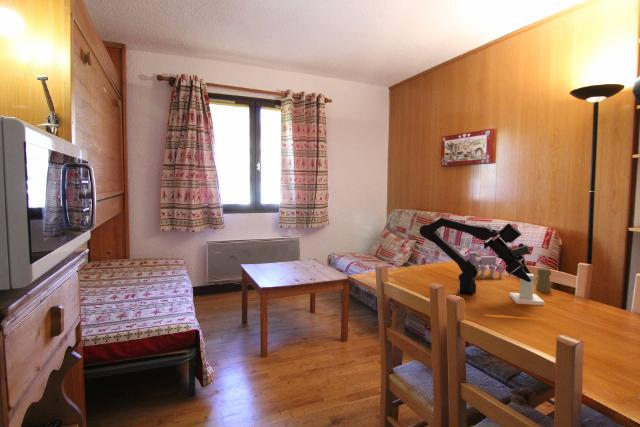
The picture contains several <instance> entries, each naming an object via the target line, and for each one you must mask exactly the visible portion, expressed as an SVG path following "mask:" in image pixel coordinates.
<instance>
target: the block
mask: <svg viewBox="0 0 640 427" xmlns="http://www.w3.org/2000/svg"><path fill="white" fill-rule="evenodd" d="M526 274H527V275H528V277H529V278H530V279H531V282H527V281H525V280H523V279H521V278H519V292H518V293H519V297H521V298H527V299H532V298H533V294H534V280H535V274H534V273H531V274H528V273H526Z"/></svg>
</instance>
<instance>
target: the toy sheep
mask: <svg viewBox="0 0 640 427" xmlns="http://www.w3.org/2000/svg"><path fill="white" fill-rule="evenodd" d="M462 256H463V257H465V258H467V259H469V258H470V257H471V258H472V259H473V260H474V261H475V262H476V263H478V264H477V265H478V266H479V268H480V275H481V276H480V277H481V279H485V271H486V270H487V267H486V266H488V269H489V270H490V271H489V274H490V279H494V278H495V274H494V273H495V272H494V271H495V270H496V269H497V270H498V278H499V279H502V278H503V270H504V266H503V264H498V263H497V256H494V255H482V254H481V253H478V252H475V251H468V253H467V254H465V255H462Z"/></svg>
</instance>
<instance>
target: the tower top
mask: <svg viewBox="0 0 640 427" xmlns="http://www.w3.org/2000/svg"><path fill="white" fill-rule="evenodd" d="M519 293H520V292H509V297H510V298H511V299H512V300H513V302H514V303H515V304H516V305H517V304H521V305H533V306H545V300H543V299H542V298H540V296H538V295H537V294H536V293H533V298H532V299H527V298H521V297H519Z"/></svg>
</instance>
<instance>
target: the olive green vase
mask: <svg viewBox="0 0 640 427" xmlns="http://www.w3.org/2000/svg"><path fill="white" fill-rule="evenodd" d="M536 272H537V274H538V277H537V281H536V287H535V291H536V292H540V293H546V294H547V293H548V294H549V293H552V287H551V280H550V276H551V274H552V271H551V269H549V268H546V267H539V268H538V269H537V270H536Z"/></svg>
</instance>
